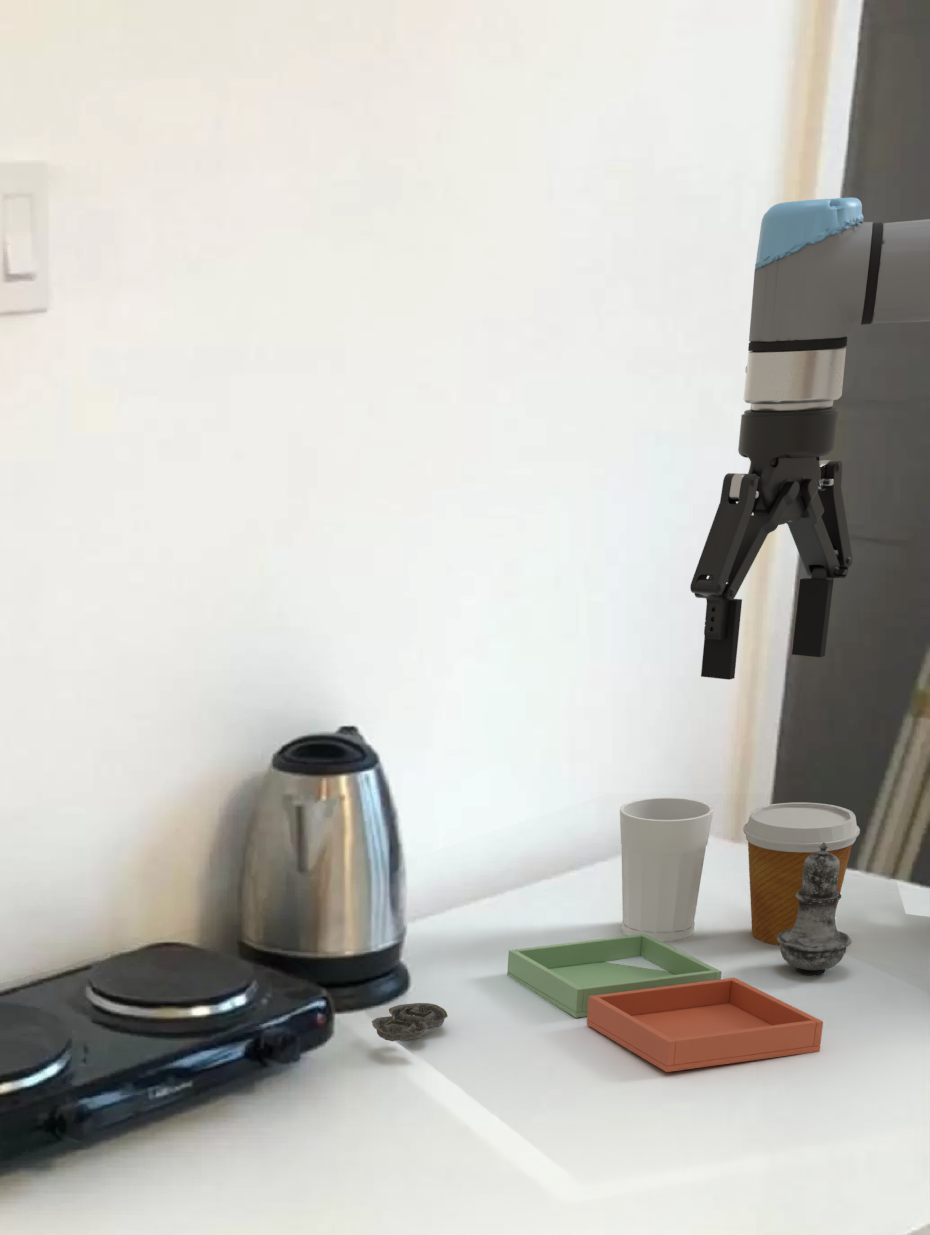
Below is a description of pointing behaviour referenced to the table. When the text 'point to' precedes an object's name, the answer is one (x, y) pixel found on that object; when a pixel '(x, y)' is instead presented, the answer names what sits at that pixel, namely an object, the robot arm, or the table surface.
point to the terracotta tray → (703, 1024)
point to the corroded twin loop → (409, 1021)
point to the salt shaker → (816, 918)
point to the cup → (662, 865)
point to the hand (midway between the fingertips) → (763, 666)
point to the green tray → (601, 969)
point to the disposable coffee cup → (790, 857)
